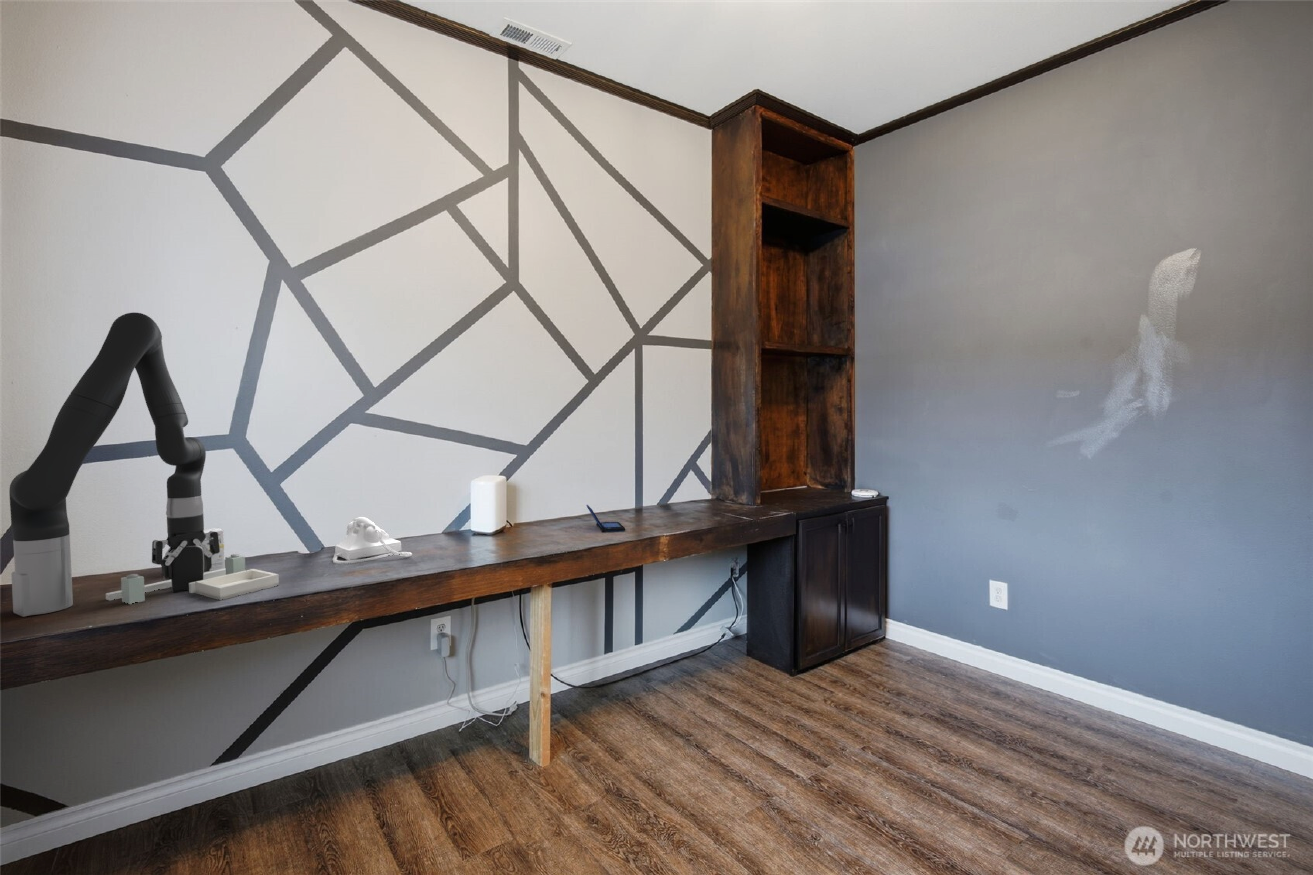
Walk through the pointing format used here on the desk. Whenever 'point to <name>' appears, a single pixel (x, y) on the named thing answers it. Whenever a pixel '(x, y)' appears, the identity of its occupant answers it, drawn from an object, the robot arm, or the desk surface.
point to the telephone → (366, 542)
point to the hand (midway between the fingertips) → (187, 575)
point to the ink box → (219, 558)
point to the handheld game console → (607, 524)
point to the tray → (236, 584)
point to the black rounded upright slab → (187, 568)
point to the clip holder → (168, 581)
